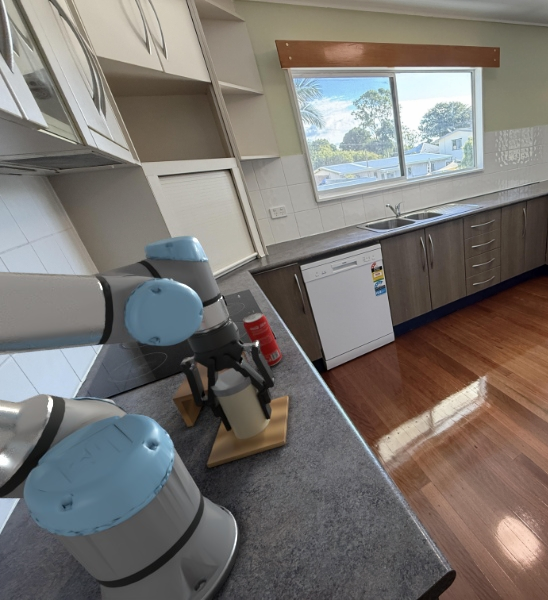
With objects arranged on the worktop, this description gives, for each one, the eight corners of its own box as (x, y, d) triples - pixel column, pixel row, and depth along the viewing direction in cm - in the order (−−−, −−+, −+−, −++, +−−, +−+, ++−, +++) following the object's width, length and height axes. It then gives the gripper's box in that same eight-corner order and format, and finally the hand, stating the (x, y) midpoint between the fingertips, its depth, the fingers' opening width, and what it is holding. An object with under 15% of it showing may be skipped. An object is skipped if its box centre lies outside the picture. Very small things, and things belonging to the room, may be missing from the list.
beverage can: (285, 354, 92) (270, 309, 86) (275, 368, 86) (258, 320, 80) (266, 355, 93) (250, 311, 87) (255, 369, 87) (237, 322, 81)
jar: (268, 433, 63) (248, 383, 58) (229, 444, 62) (205, 395, 57) (272, 408, 70) (254, 362, 65) (237, 418, 68) (216, 372, 63)
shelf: (244, 411, 72) (232, 383, 68) (187, 427, 69) (172, 399, 66) (253, 375, 84) (243, 350, 81) (205, 388, 82) (193, 363, 79)
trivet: (285, 444, 61) (284, 440, 61) (208, 468, 58) (206, 464, 58) (289, 398, 74) (287, 395, 73) (226, 416, 71) (224, 412, 70)
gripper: (268, 303, 61) (299, 395, 70) (155, 328, 57) (203, 422, 66) (263, 319, 54) (298, 418, 64) (135, 349, 50) (192, 450, 60)
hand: (250, 420), depth 65 cm, fingers closed on jar, 7 cm apart
